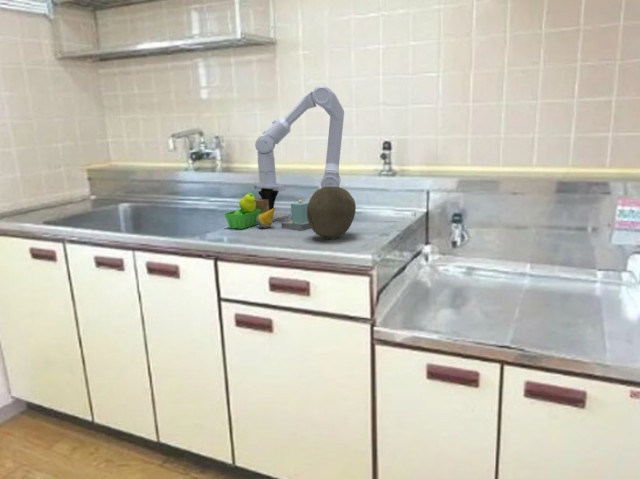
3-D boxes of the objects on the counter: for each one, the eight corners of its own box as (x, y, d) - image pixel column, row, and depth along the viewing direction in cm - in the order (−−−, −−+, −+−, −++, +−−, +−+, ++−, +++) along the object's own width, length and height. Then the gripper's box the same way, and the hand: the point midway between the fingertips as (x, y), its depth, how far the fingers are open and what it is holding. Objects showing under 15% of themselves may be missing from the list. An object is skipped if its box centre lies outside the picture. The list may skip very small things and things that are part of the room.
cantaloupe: (353, 243, 149) (351, 190, 146) (304, 243, 152) (300, 191, 148) (359, 232, 163) (357, 182, 159) (313, 232, 165) (310, 184, 162)
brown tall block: (261, 217, 187) (260, 198, 185) (269, 218, 184) (268, 199, 183) (255, 219, 185) (253, 199, 183) (263, 220, 182) (261, 200, 180)
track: (280, 216, 194) (280, 213, 193) (289, 217, 191) (289, 215, 190) (257, 221, 186) (257, 219, 186) (266, 222, 183) (265, 220, 183)
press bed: (303, 222, 181) (302, 217, 181) (322, 224, 175) (322, 220, 175) (281, 227, 174) (281, 222, 174) (301, 230, 168) (301, 225, 168)
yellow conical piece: (266, 226, 180) (283, 207, 175) (264, 236, 176) (281, 216, 171) (253, 218, 178) (269, 198, 173) (250, 227, 174) (267, 208, 169)
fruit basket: (246, 222, 186) (243, 189, 184) (266, 223, 182) (264, 190, 179) (224, 228, 177) (221, 195, 174) (245, 230, 172) (242, 196, 170)
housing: (301, 219, 178) (300, 198, 176) (311, 220, 175) (310, 199, 173) (291, 221, 174) (290, 200, 173) (301, 223, 171) (300, 201, 170)
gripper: (244, 171, 185) (247, 210, 188) (272, 173, 176) (275, 214, 179) (259, 169, 190) (262, 207, 193) (288, 171, 181) (290, 210, 184)
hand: (269, 210), depth 186 cm, fingers closed, pressing on brown tall block
